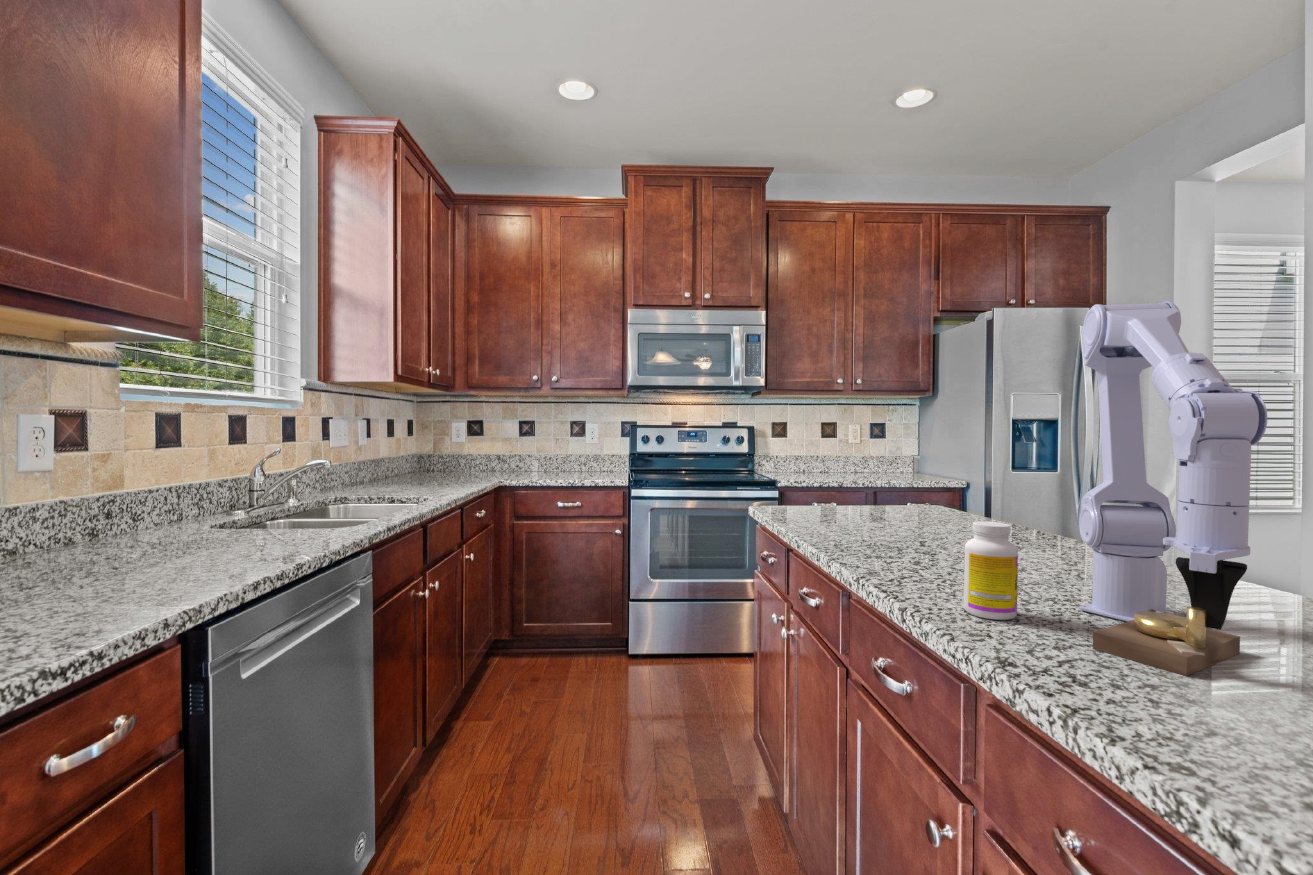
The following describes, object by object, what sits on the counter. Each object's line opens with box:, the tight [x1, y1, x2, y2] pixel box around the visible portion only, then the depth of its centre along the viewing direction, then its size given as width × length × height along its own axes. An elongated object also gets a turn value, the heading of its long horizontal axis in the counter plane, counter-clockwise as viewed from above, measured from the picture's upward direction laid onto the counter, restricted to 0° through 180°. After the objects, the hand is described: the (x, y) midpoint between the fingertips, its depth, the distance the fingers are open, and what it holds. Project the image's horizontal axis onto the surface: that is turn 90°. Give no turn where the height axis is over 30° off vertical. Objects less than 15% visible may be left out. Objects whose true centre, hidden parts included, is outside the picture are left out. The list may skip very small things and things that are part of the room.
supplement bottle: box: [963, 520, 1019, 621], centre depth 85 cm, size 7×7×13 cm
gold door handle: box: [1134, 605, 1207, 648], centre depth 70 cm, size 10×6×4 cm, turn 164°
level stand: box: [1092, 609, 1241, 677], centre depth 72 cm, size 14×10×4 cm
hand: (1208, 626), depth 66 cm, fingers closed, pressing on gold door handle
